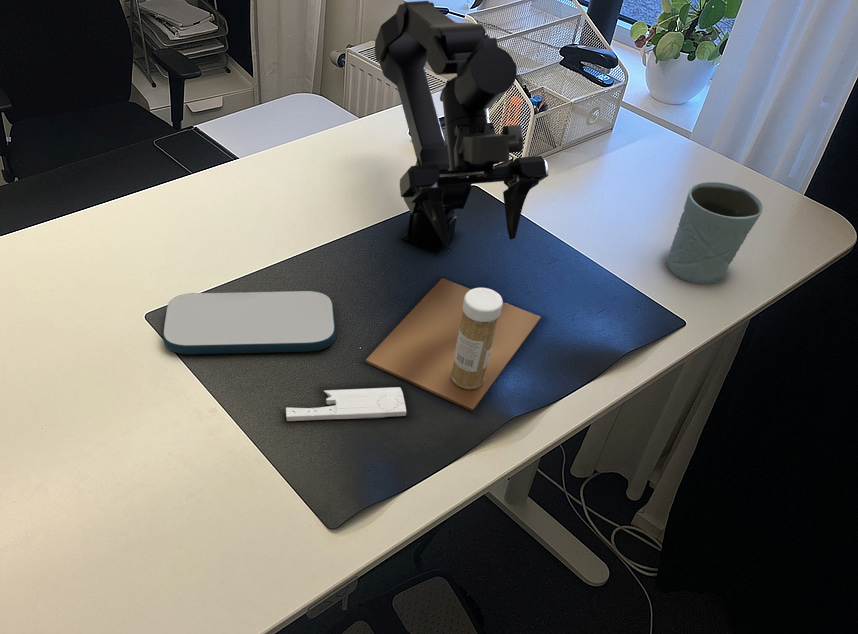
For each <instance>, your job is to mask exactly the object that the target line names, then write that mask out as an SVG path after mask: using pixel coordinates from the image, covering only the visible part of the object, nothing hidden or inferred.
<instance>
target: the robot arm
mask: <svg viewBox="0 0 858 634" xmlns="http://www.w3.org/2000/svg"><path fill="white" fill-rule="evenodd" d="M374 55H375V56H374V57H375V60H376V62H378V63H379V66H380V69H381V71H382V74H383V77H385V78H386V79H387V80H389V82H391V83H392V84H393V85H395V86H396V88H397V92H398V94H399V99H400V102H401V106H402V109H403V113H404V117H405V121H406V125H407V128H408V132H409V136H410V138H411V143H412V147H413V150H414V154H415V159H416V162H415V164H414V165H411V166H410V167H409V168H408V169H407V171H406V172H404V174H403V175H402V176H401V178H400V179H399V192H400V197H401V198H403V201H404V203H405V205H406V207H407V208H408V210H409V215H408V226H407V232H406V233H405V234H403V235H402V239H401V240H402V241H404V242H407V243H409V244H412V245H414V246H417V247H419V248H422V249H424V250H428V251H430V252H432V253H439V252H440V251H441V250H442V249H443V248H444V247H445V246H449V244H450V242H451V241H452V240H453V239H454V237H455V235H456V231H455V229H456V223H457V219H458V218H457V215H456V214H455V210H464V208H465V206H466V203H467V200H468V198H469V196H470V193H471V191H472V185H476V184H486V183H487V184H488V183H500V182H501V183H502V182H503V184H504V185H505V186H506V187H507V189H505V190H504V191H502V196H503V197H502V198H503V205H504V212H505V213H504V214H505V222H506V223H505V224H506V229H507V234H508V237H509V240H515V239H516V237H517V232H518V228H519V224H520V220H521V215H522V211H523V207H524V204H525V201H526V199H527V196H528V194H529V192H530V190H532V189H533V188H535V187H537V186H538V185H539V183H540V182H541V181H543V180H544V179H546V178H547V177H549V175H550V174H549V166H548V162H547V161H546V159H545V158H544V157H543V156H542V155H536V156H533V155H532V156H522V157H521V156H520V157H516V158H515V159H513V160H512V161H511V162H510V154H511V153H521V152H522V151H523V148H524V134H523V128H522V125H520V124H513V125H511V124H510V125H503V127H502V131H501V133H496V130H495V125H494V122H490V114H489V108H491V107H492V106H493V105H494V104H495V103H496V102H497V101H498V100H500V98H502V97H503V95H504V94H505V93H506V92H508V90H510V89H511V87H512V86H513V85H514V84H515V82H516V79H517V75H518V73H517V71H518V68H517V63H516V62H515V60H514V59H513V57H512V56H511V55H510V53H509V52H507V51H506V50H505V49H503V48H502V47H499V45H498V39H497V37H490V35H489V34H488V33H487V30H486V28H485V27H484V26H483V24H480V23H474V22H456V21H454V20H453V19H452V18H450V17H449V16H448V15H446V14H445V13H443V12H441V11H440V10H439V9H438V8H436V7H435V4H434V2H433V1H432V2H430V1H429V0H416V1H404V2H403V3H400V4H399V5H398V7H397V9H396V12H395V13H394V14H393V15H392V16H391V17H389V18H388V19H387V20H386V21H385V22H383V23H382V24H381V25H380V27H379V29H378V33H377V35H376V38H375V42H374ZM427 66H429V67H430V69H431V70H432V72H433V73H434V74H435V75H437V76H442V75H456V76H454V77H452V78H451V79H449V80H448V79H447V80H446V82H445V85H444V86H443V88H442V90H441V92H440V95H439V101H440V102H442V108H443V118H444V127H445V135H446V137H445V136H444V133H443V129H442V125H441V123H440V119H439V115H438V112H437V109H436V105H435V102H434V98H433V95H432V91H431V88H430V83H429V80H428V77H427V74H426V69H427ZM507 162H510V163H508V164H507V165H506V166H505V165H504V166H495V165H499V164H500V163H507Z"/></svg>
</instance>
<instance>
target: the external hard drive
mask: <svg viewBox="0 0 858 634" xmlns="http://www.w3.org/2000/svg"><path fill="white" fill-rule="evenodd" d="M334 310H335V308H334V303H333V301H332V299H331V298H330V296H328V295H326V294H325V293H322V292H319V291H314V290H287V291H286V290H284V291H283V290H282V291H281V290H279V291H277V290H276V291H233V292H232V291H231V292H227V291H225V292H192V293H191V292H190V293H184V294H179V295H177V296H175V297H173V298H171V300H170V301H169V302H168V303H167V305H166V308H165V314H164V320H163V321H164V322H163V326H162V327H163V328H162V340H163V343H164V346H165V347H166V348H167V349H168V350H169V351H171V352H173V353H177V354H179V355H180V354H182V355H215V354H217V355H218V354H219V355H220V354H221V355H222V354H257V353H258V354H259V353H261V354H262V353H299V352H300V353H301V352H303V353H307V352H316V351H321V350H324V349H327V348H329V347H330V346H331V345H332V344H333V343H334V342H335V339H336V320H335V311H334Z"/></svg>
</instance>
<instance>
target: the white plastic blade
mask: <svg viewBox="0 0 858 634" xmlns="http://www.w3.org/2000/svg"><path fill="white" fill-rule="evenodd" d="M323 393H325V395H326V396H327V397H326V399H325V404H326V405H328V406H320V407H308V408H307V407H285V414H286V415H285V417H286V422H299V421H301V422H302V421H321V420H323V421H324V420H350V419H352V420H353V419H368V418H376V419H381V418H387V417H388V418H389V417H406V416H407V407H406V401H405V398H404V392H403V390H402V388H401V387H400V386H399V387H398V386H395V387H394V386H393V387H373V388H350V389H349V388H348V389H347V388H346V389H327V390H323Z"/></svg>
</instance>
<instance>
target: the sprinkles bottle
mask: <svg viewBox="0 0 858 634" xmlns="http://www.w3.org/2000/svg"><path fill="white" fill-rule="evenodd" d="M471 289H472V290H470V291H468V292H467V293H466V295H465V297H464V302H463V315H462V320H461V325H460V328H459V333H458V339H457V344H456V350H455V355H454V364H453V369H452V371H451V379H452V381H453V383H454V384H456V385H457V386H459V387H461V388H464V389H477V388H478V387H480V386H481V385H482V384H483V383H484V381H485V373H486V368H487V365H488V362H489V357H490V353H491V348H492V343H493V337H494V332H495V328H496V323H497V319H498V317H499V316H500V313H501V309H502V304H503V302H504V300H503V298H502V295H500V294H499V293H498V292H497V291H495V290H493V289H491V288H488V287H474V288H471Z"/></svg>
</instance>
